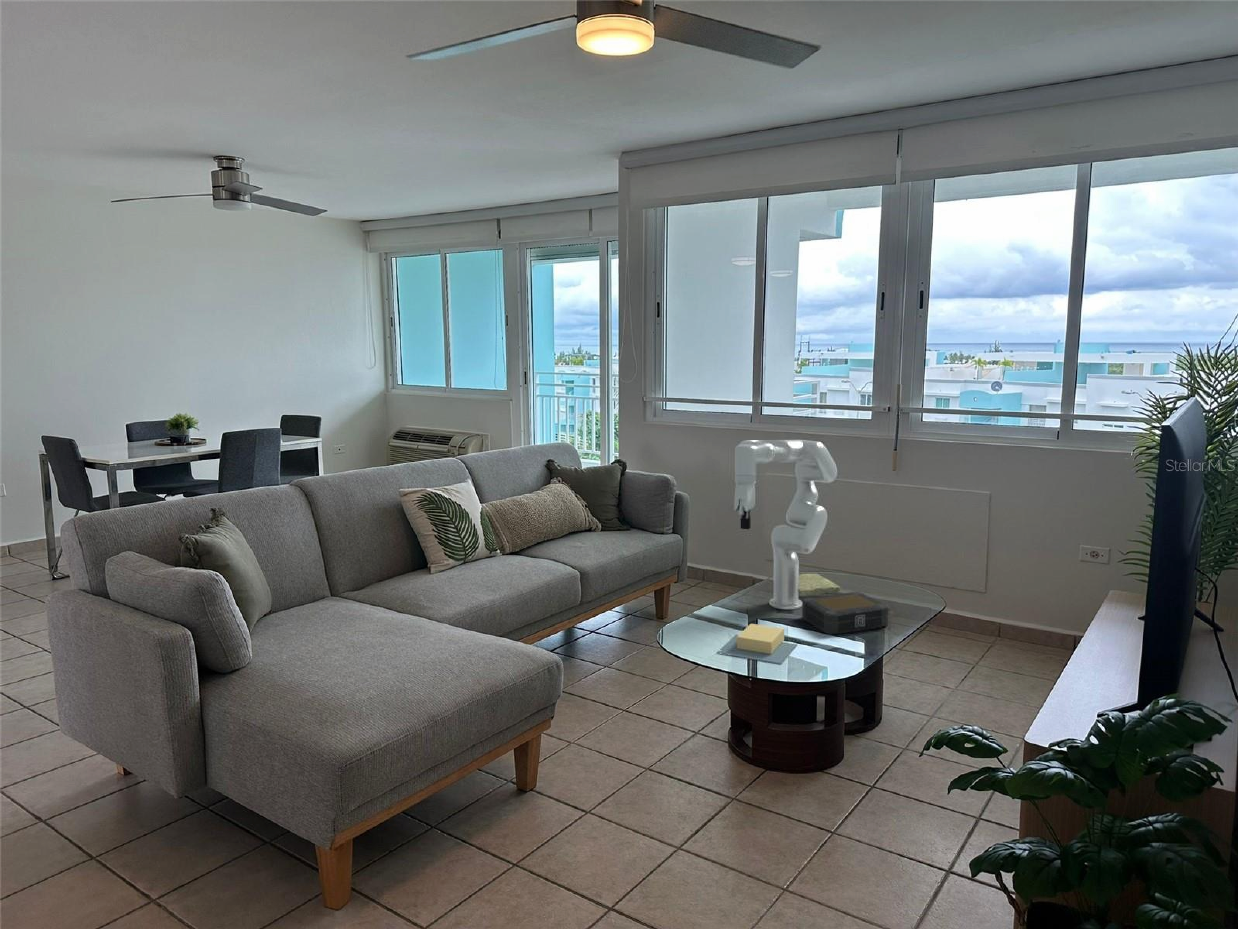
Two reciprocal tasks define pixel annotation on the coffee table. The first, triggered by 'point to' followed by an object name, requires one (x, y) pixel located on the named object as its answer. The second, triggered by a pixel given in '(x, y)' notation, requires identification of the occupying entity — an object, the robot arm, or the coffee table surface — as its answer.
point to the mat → (775, 657)
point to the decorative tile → (815, 585)
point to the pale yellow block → (760, 638)
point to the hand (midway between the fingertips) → (745, 528)
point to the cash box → (844, 612)
